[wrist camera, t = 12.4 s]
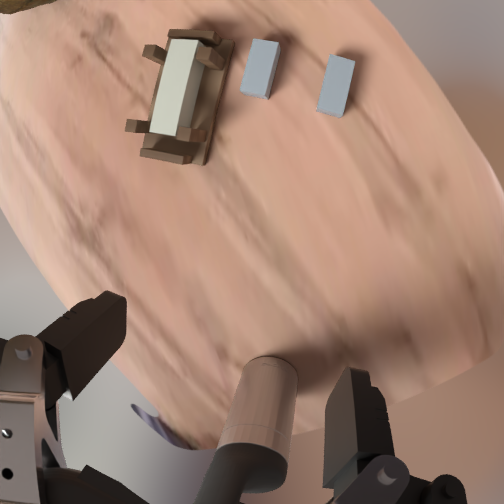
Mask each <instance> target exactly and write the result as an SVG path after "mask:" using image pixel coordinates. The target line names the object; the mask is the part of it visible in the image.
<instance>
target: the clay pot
mask: <svg viewBox="0 0 504 504" xmlns="http://www.w3.org/2000/svg"><path fill="white" fill-rule="evenodd" d="M54 1H56V0H0V13H3V14H13V13H16V12H19V11H24V10H28V9H31V8H34V7H37V6H40V5H44V4H48V3H49V4H50V3H53V2H54Z"/></svg>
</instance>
